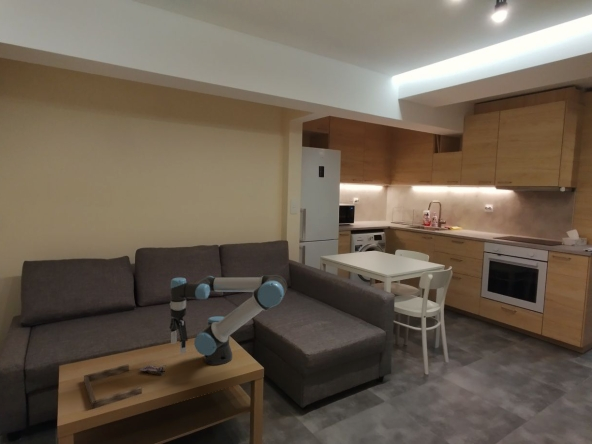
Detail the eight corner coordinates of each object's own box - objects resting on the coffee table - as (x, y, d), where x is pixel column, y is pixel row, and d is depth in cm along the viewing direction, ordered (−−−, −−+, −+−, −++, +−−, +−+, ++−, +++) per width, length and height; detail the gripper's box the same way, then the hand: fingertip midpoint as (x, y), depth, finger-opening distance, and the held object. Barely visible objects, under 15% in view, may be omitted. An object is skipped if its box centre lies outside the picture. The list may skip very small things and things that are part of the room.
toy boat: (137, 372, 177) (138, 364, 177) (145, 367, 183) (145, 359, 183) (159, 376, 174) (159, 368, 173) (166, 372, 179) (167, 364, 179)
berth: (128, 369, 180) (128, 364, 180) (141, 394, 159) (141, 388, 159) (84, 381, 169) (83, 375, 168) (92, 410, 147) (92, 403, 147)
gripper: (163, 302, 188) (163, 341, 189) (179, 316, 168) (179, 359, 170) (177, 300, 192) (177, 337, 194) (194, 314, 172) (194, 355, 174)
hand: (178, 348), depth 182 cm, fingers open, 13 cm apart
